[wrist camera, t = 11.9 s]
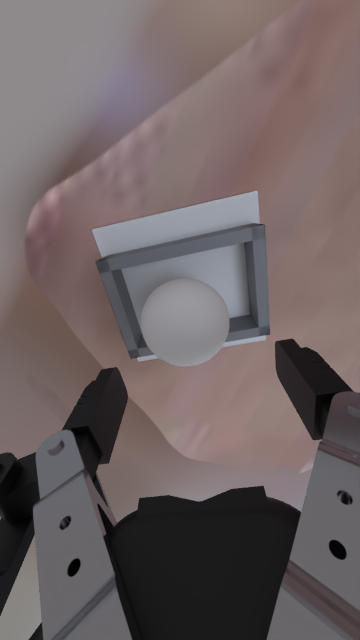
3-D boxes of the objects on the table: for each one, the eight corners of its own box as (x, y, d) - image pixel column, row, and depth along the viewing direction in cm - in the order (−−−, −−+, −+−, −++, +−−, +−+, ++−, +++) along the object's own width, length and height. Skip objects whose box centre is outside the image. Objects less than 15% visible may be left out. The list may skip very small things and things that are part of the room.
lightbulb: (225, 294, 23) (257, 356, 13) (177, 325, 25) (174, 400, 15) (192, 244, 21) (200, 272, 11) (142, 281, 23) (110, 334, 13)
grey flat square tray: (256, 190, 20) (270, 186, 17) (264, 337, 26) (275, 354, 23) (93, 229, 21) (78, 232, 18) (138, 359, 27) (133, 378, 24)
